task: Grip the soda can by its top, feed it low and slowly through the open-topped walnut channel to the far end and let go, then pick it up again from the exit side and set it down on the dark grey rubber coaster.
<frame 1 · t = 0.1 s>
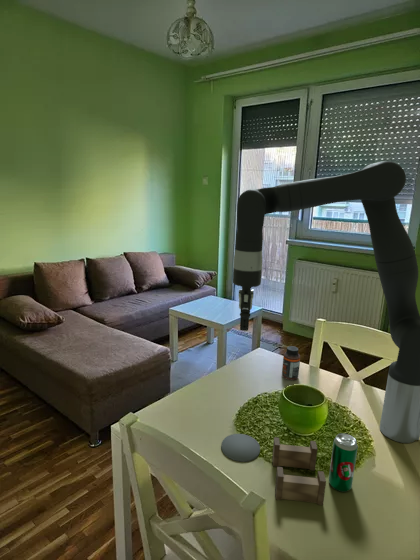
hand: (244, 324, 100), 29 cm above the table, tool pointing down, fingers open, 8 cm apart
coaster: (240, 447, 94), on the table
soda can: (339, 485, 83), on the table
channel: (295, 479, 84), on the table
supplement bottle: (289, 377, 132), on the table
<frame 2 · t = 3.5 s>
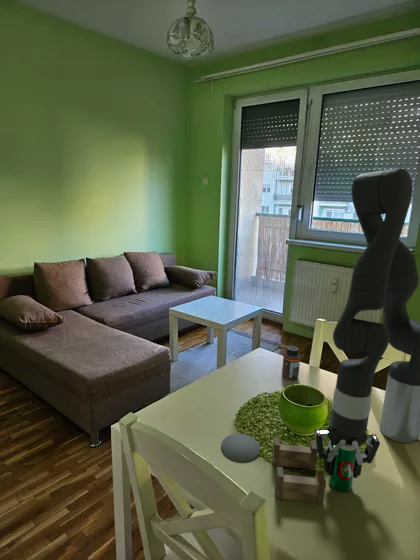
hand: (341, 473, 82), 3 cm above the table, tool pointing down, fingers closed on soda can, 5 cm apart
soda can: (339, 485, 83), on the table, touching gripper
everything else where it was.
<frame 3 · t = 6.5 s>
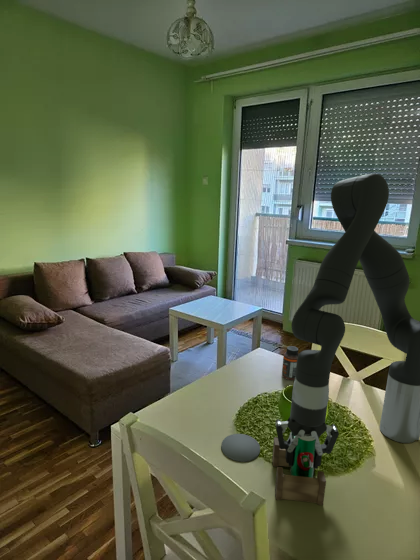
hand: (302, 464, 83), 4 cm above the table, tool pointing down, fingers closed on soda can, 5 cm apart
soda can: (301, 476, 83), point 1 cm above the table, touching gripper
everything else where it was.
when the fingers open (3 cm above the table, at t = 9.4 s): soda can stays where it is, on the table.
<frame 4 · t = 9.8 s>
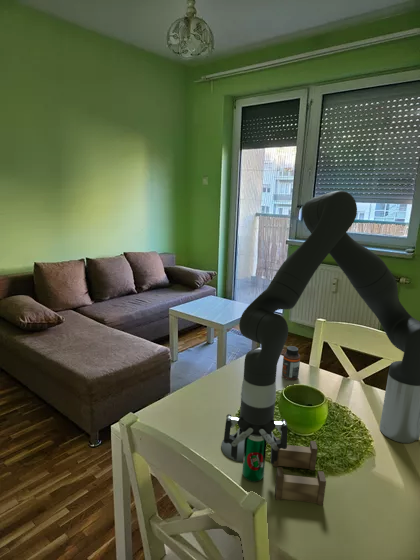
hand: (253, 459, 84), 4 cm above the table, tool pointing down, fingers open, 8 cm apart
soda can: (252, 475, 85), on the table
everything else where it was.
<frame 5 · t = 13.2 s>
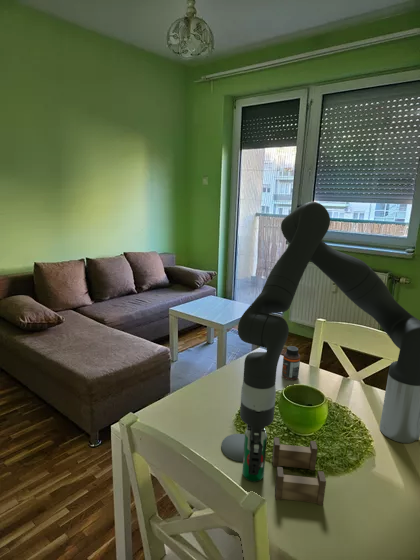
hand: (253, 464, 84), 3 cm above the table, tool pointing down, fingers closed on soda can, 5 cm apart
soda can: (252, 475, 85), on the table, touching gripper
everything else where it was.
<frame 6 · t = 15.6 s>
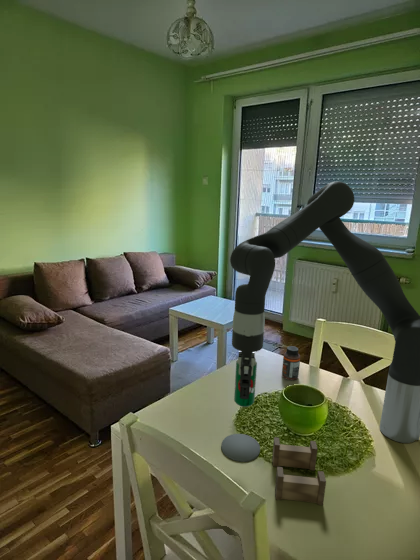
hand: (244, 391, 90), 16 cm above the table, tool pointing down, fingers closed on soda can, 5 cm apart
soda can: (244, 402, 91), point 13 cm above the table, touching gripper
everything else where it was.
when the fingers open (4 cm above the table, at t = 18.0 s): soda can stays where it is, resting on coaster.
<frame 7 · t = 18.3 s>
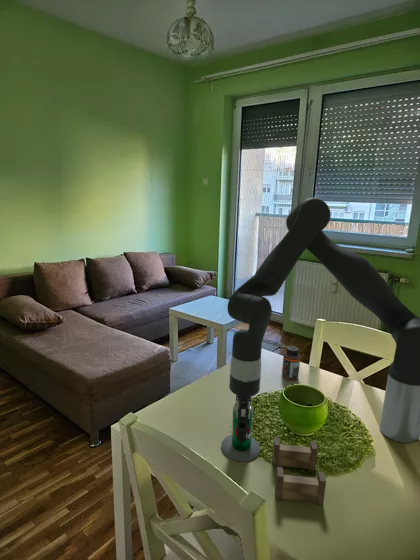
hand: (241, 430, 93), 5 cm above the table, tool pointing down, fingers open, 7 cm apart
soda can: (241, 446, 94), resting on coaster
everything else where it was.
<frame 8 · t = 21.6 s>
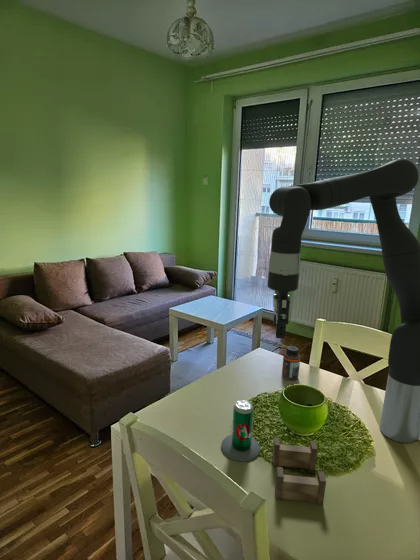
hand: (278, 331, 93), 30 cm above the table, tool pointing down, fingers open, 8 cm apart
nothing on the table moved.
at the end: soda can inside the target area on the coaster (0.2 cm from its centre), point 0.3 cm above the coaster's base; soda can tilted 0°; the gripper is holding nothing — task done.
